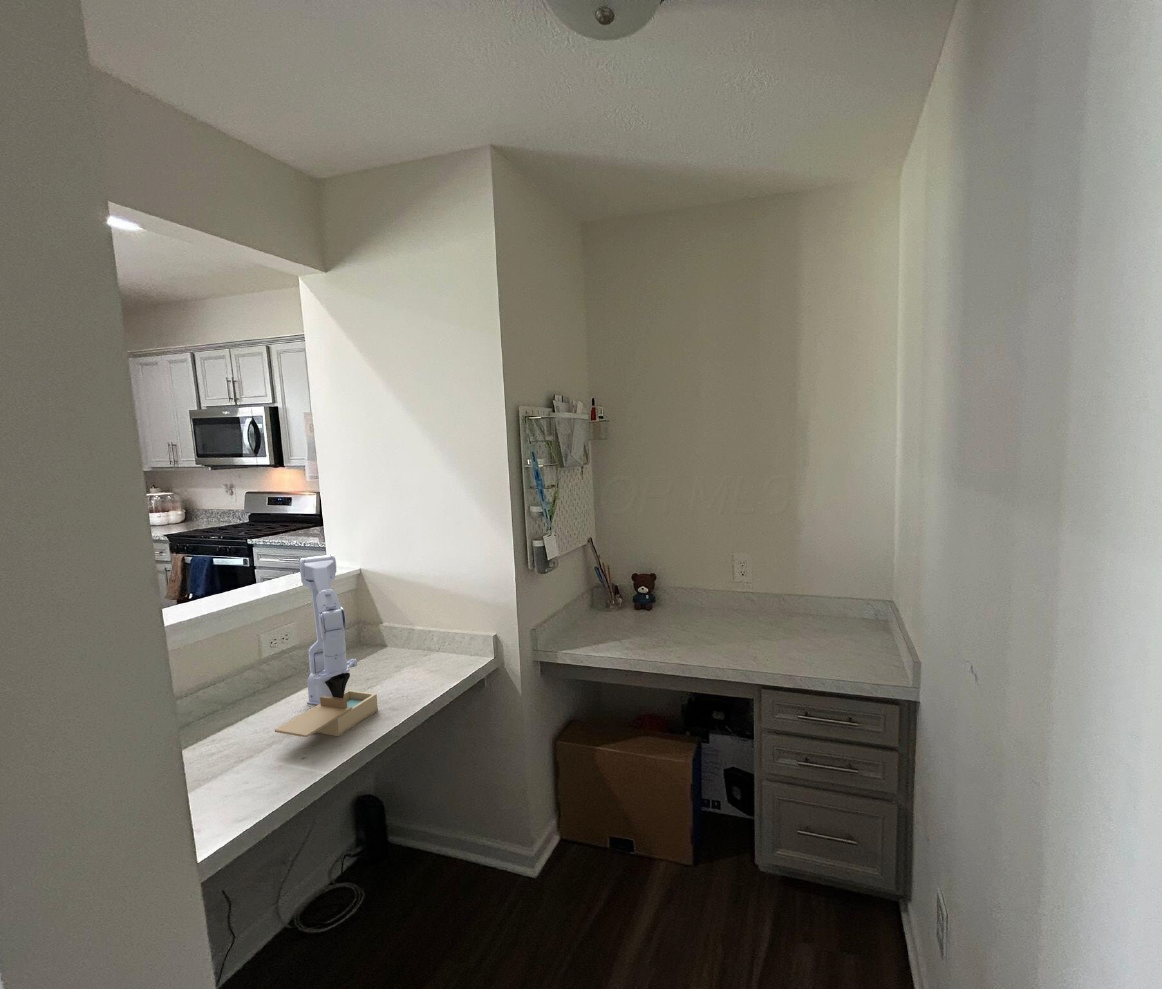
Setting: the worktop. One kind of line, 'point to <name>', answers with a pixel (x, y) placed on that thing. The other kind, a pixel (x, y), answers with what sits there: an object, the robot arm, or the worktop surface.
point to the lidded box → (352, 712)
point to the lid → (316, 717)
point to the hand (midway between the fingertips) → (338, 700)
